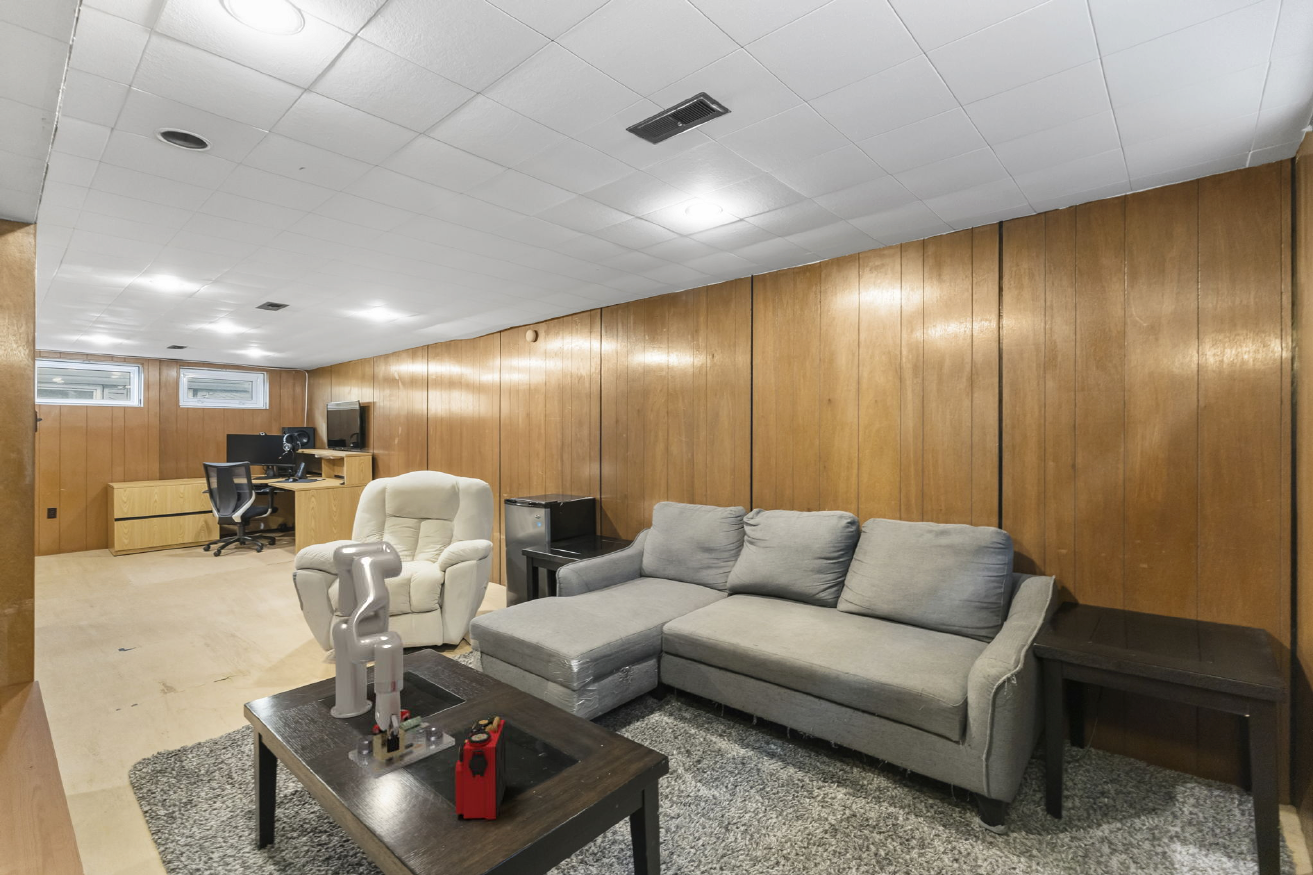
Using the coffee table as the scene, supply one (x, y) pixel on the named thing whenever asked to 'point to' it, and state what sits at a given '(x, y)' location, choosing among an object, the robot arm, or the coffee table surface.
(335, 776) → the coffee table surface
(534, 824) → the coffee table surface
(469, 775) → the radio
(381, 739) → the wooden rectangular block
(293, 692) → the coffee table surface
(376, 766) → the levelling base
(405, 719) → the race car
